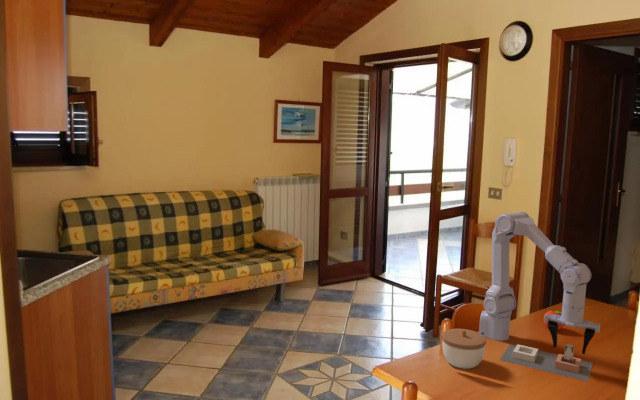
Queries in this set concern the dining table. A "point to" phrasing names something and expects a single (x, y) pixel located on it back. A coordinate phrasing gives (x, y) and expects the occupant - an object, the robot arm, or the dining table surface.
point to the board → (548, 364)
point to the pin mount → (525, 353)
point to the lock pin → (568, 353)
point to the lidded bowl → (463, 347)
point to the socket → (568, 364)
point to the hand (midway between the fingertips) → (569, 349)
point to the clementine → (553, 314)
